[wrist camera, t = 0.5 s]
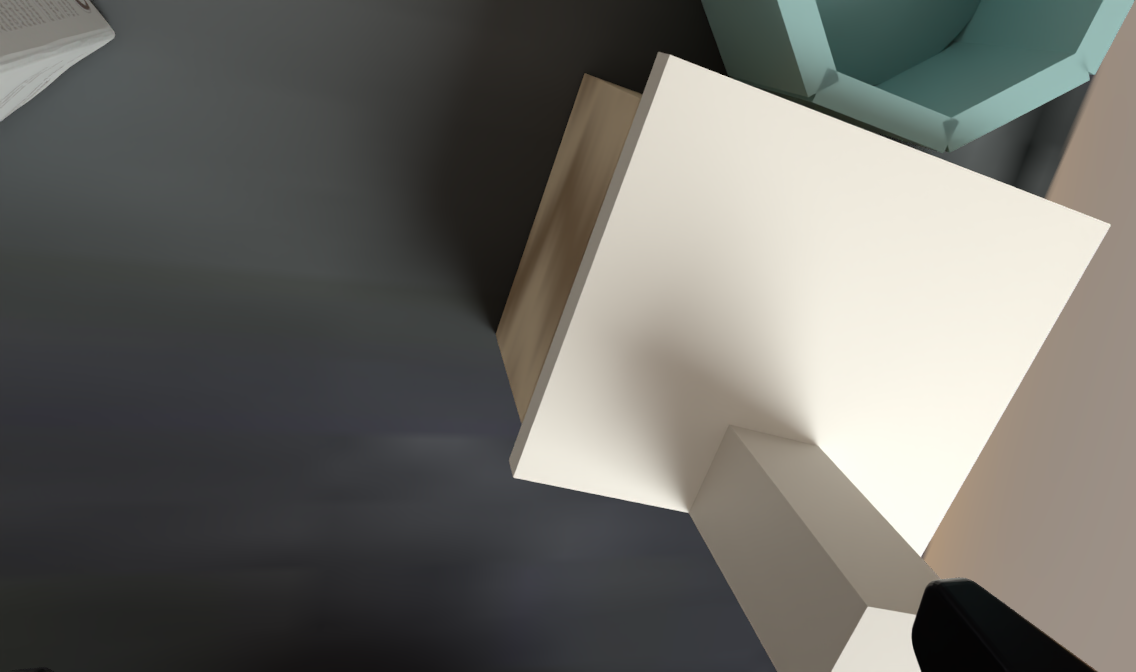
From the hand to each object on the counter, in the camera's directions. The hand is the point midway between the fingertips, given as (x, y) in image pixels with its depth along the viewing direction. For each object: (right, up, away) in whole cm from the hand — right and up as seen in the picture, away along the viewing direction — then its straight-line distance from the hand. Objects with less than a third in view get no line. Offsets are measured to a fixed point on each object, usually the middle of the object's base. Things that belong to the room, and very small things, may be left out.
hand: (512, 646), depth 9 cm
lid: (+6, +3, +12) cm, 14 cm away
